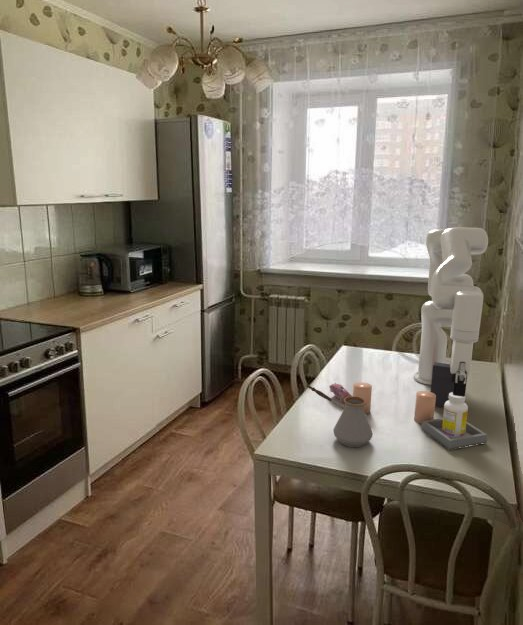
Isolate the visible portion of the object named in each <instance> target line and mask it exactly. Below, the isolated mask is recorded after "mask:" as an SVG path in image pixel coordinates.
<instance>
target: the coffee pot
mask: <svg viewBox="0 0 523 625" xmlns="http://www.w3.org/2000/svg"><path fill="white" fill-rule="evenodd" d="M307 389H309V390H311V391H312V392H314V393H316V394H317V395H318V396H319V397H321V398H323V399H325V400H326V401H329V402H331V403H333V404H334V405H336V407H338V408H340V409H341V410H342V412H341V414H340V416H339V418H338V420H337V422H336V423H335V425H334V427H333V429H332V430H333V434H334V437H335V438H336V440H337V441H338V442H340V443H341V444H342V445H344V446H347V447H348V448H349V447H350V448H359V447H363V446H365V445H366V444H367V443H369V442H370V441H371V440H372V438H373V434H374V433H373V429H372V427H371V424H370V422H369V419H368V417H367V414H365V411H364V409H363V407H364V405H365V404H366V401H365V400H364V399H363V398H361V397H358V396H353V395H352V396H350V397H346V398H344V402H343V403H344V404H345V406H344V405H342V404H341V403H340V402H337V401H335V400H334V399H332V398H331V397H329V396H328V395H327V394H325V393H324V392H322V391H320V390H318V389H317V388H315V387H314V386H313V387H312V386H311V385H309V384H306V386H305V388H304V391H306V390H307Z"/></svg>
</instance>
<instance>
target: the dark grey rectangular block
mask: <svg viewBox="0 0 523 625" xmlns="http://www.w3.org/2000/svg"><path fill="white" fill-rule="evenodd" d="M467 381H468V375H467V376H466V384H467V383H468V382H467ZM453 388H454V382H452V373H451V372H450V363H445V364H444V363H438V362H435V363H434V364H433V370H432V382H431V385H430V392H432V393H434V394H435V395H436V402H435V407H436V406H437V408H442V407H443V409H444V404H445V402H446V401H448V400H449V398H448V397H449V393H451V392H453ZM466 390H467V389H466ZM466 390H465V392H466Z"/></svg>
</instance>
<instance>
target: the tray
mask: <svg viewBox="0 0 523 625" xmlns="http://www.w3.org/2000/svg"><path fill="white" fill-rule="evenodd" d="M442 424H443V417H441V418H434V420H427V421H423V424H421V430H422V432H424V433H425V432H426V434H427V435H428V436H429V435H430V436H429V437H430V438H432V439H433V438H434V439H433V440H435V441H436V442H437V441H438V442H437V443H439V444H440V443H441V444H442V445H441V444H440V445H441V446H442V447H444V448H445V447H446V448H445V449H446V450H448V451H452V450H451V449H454V450H456V449H455V448H459V447H465V446H469V445H476V444H481V443H486V444H487V440H488V434H487V433H485V432H484V431H482V430H481V429H479V428H477V427H476V426H474V425H473V424H472V423H469V422H468V421H467V423H466V432H465V436H464V437H458V438H449V437H448V436H446V435H445V434H443V433H442ZM465 448H466V447H465Z"/></svg>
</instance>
